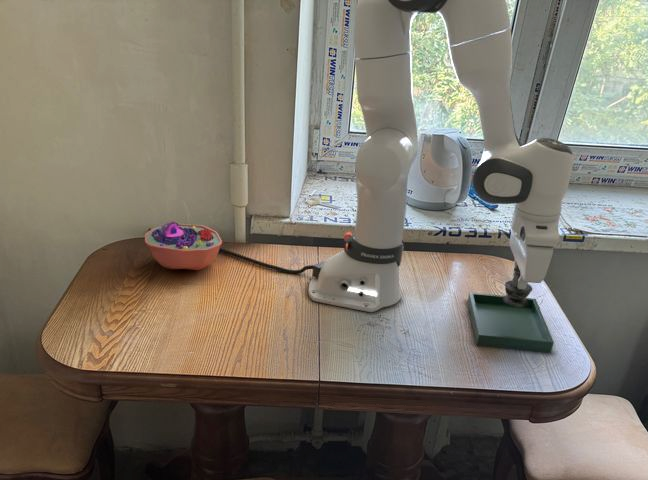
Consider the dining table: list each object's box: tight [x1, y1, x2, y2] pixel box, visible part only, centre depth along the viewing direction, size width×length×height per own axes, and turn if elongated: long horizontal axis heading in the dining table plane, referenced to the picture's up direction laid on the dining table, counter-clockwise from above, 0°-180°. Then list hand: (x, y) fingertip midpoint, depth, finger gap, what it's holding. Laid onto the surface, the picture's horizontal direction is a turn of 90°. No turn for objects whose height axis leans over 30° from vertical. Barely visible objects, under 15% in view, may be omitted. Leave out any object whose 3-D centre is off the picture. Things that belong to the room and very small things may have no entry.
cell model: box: [144, 221, 223, 271], centre depth 151 cm, size 17×20×11 cm
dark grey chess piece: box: [503, 265, 533, 307], centre depth 129 cm, size 6×6×12 cm
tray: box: [466, 292, 555, 353], centre depth 135 cm, size 16×20×3 cm
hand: (519, 282), depth 130 cm, fingers closed on dark grey chess piece, 3 cm apart
